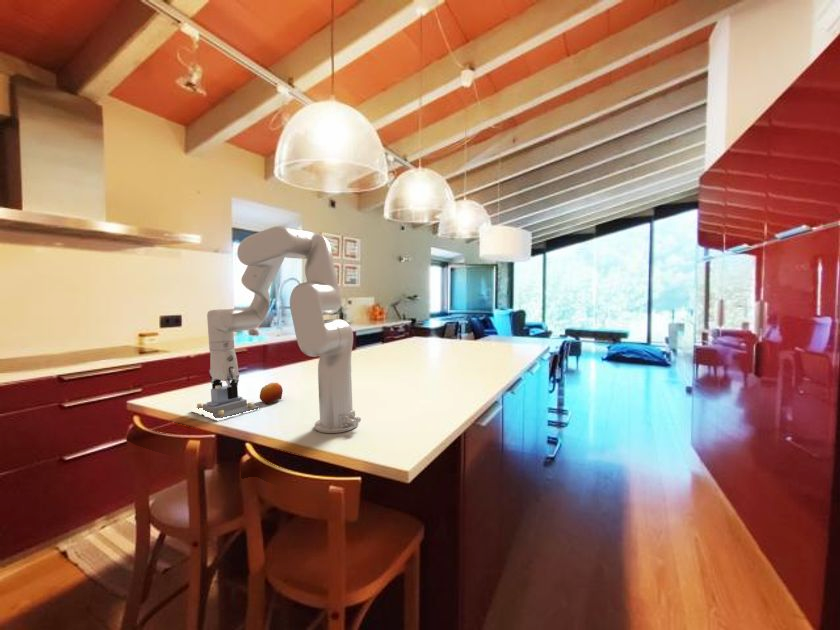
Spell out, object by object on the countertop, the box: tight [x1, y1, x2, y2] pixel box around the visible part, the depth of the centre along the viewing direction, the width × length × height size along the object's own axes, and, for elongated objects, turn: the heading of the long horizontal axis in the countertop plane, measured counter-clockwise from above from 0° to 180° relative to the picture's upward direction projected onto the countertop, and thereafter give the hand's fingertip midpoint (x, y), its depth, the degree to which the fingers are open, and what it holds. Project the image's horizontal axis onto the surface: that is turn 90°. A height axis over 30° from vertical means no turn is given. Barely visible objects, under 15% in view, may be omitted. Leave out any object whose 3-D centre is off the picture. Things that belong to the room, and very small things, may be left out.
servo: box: [206, 385, 243, 407], centre depth 132 cm, size 4×10×8 cm, turn 144°
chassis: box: [196, 398, 260, 418], centre depth 133 cm, size 18×14×3 cm
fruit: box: [259, 382, 284, 404], centre depth 142 cm, size 8×8×8 cm
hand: (225, 396), depth 132 cm, fingers open, 9 cm apart
